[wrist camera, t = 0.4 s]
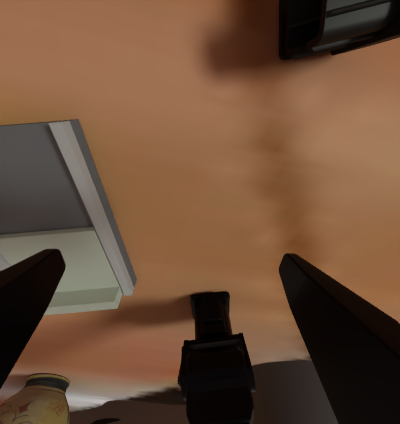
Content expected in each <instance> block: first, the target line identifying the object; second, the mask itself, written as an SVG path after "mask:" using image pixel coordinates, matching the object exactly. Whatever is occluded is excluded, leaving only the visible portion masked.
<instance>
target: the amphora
mask: <svg viewBox="0 0 400 424" xmlns="http://www.w3.org/2000/svg"><path fill="white" fill-rule="evenodd" d="M69 384H70V382H69V380H68V379H66V378H64V377H62V376H58V375H53V374H36V375H32V376H30V377H28V378H27V380H26V385H25V387H24V388H23V389H22V390H21V391H19V392H18V393H16V394H15V395H13V396H12V397H11V398H9V399H8V400H6V401H5V402H4V403H3V404H1V405H0V424H69V406H68V403H67V399H66V396H65V392H66V389H67V387H68V386H69Z"/></svg>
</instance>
